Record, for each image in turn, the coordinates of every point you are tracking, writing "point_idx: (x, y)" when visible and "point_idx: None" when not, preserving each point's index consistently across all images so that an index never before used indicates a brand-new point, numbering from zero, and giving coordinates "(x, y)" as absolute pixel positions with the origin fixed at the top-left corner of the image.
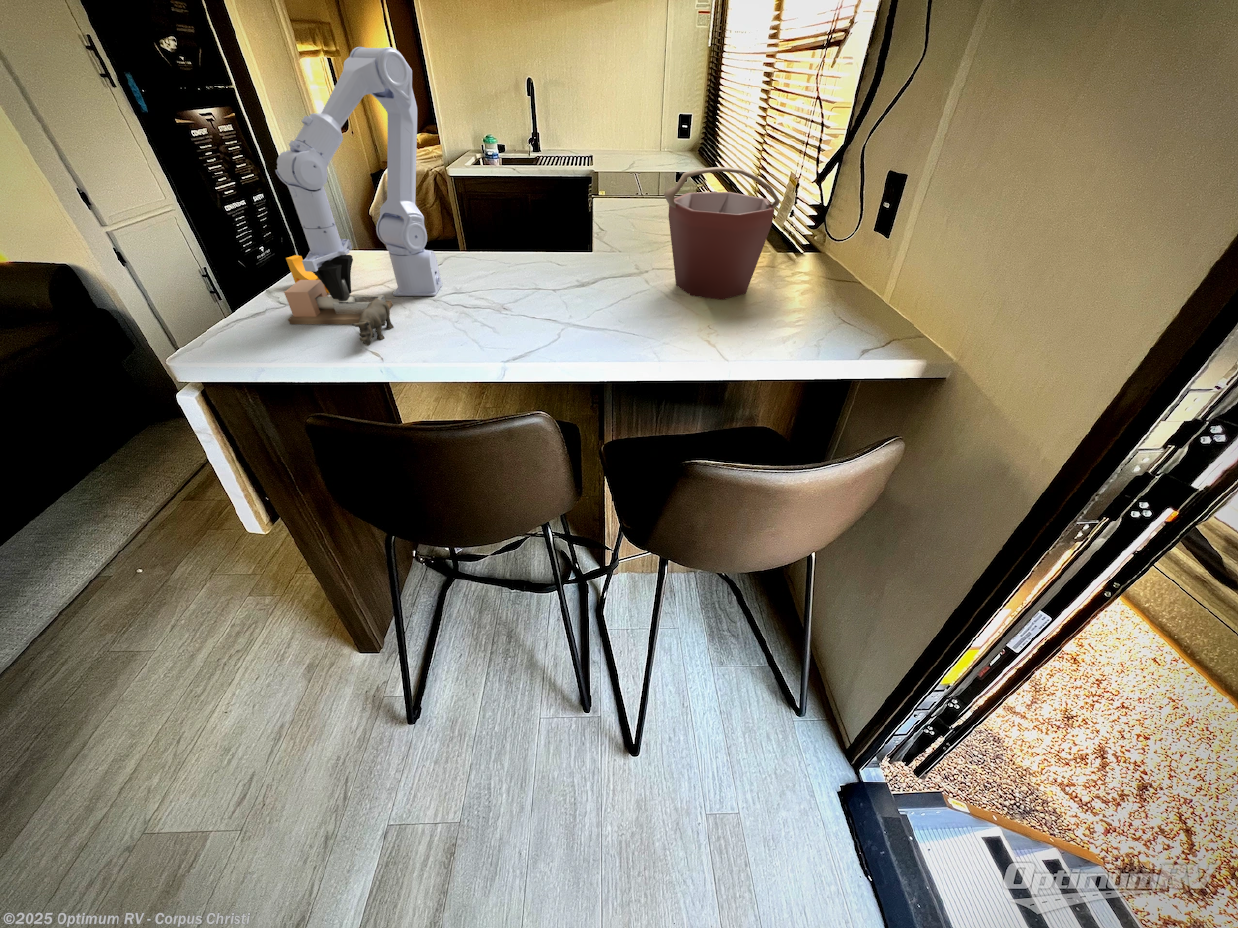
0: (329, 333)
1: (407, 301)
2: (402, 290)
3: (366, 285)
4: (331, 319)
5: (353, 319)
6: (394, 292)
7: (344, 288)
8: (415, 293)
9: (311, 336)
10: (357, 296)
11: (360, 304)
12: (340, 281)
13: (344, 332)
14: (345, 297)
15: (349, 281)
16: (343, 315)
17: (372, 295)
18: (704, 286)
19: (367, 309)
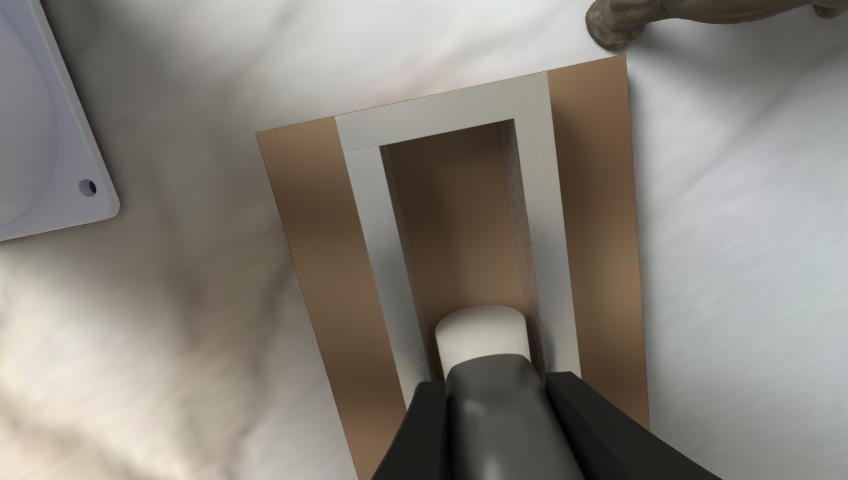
0: (761, 290)
1: (168, 58)
2: (41, 150)
3: (32, 462)
4: (644, 356)
5: (635, 223)
6: (82, 215)
7: (539, 415)
8: (29, 35)
9: (800, 360)
10: (414, 326)
11: (559, 222)
12: (659, 475)
13: (748, 212)
14: (530, 371)
15: (422, 442)
16: (576, 320)
17: (363, 219)
18: None
19: None
